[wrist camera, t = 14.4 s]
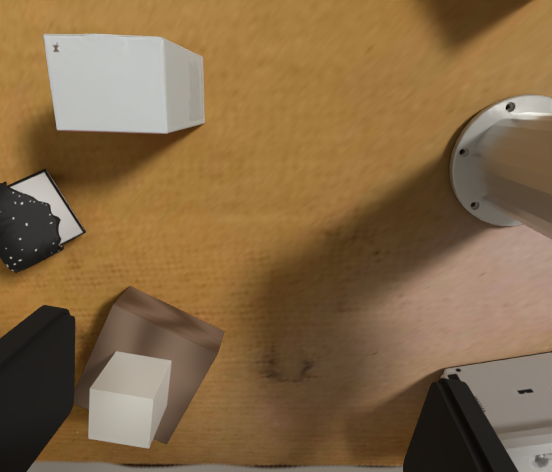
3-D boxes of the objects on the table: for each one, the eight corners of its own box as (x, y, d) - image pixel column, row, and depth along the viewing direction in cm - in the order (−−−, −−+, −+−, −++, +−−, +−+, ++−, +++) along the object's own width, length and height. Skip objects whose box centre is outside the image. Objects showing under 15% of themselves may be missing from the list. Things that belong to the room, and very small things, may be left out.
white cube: (171, 360, 44) (153, 399, 38) (166, 405, 46) (148, 448, 40) (116, 351, 44) (89, 388, 38) (113, 396, 46) (88, 438, 40)
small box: (126, 122, 41) (53, 131, 28) (120, 53, 39) (39, 31, 26) (206, 125, 41) (168, 135, 28) (205, 55, 39) (162, 33, 26)
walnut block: (225, 329, 48) (217, 354, 43) (178, 413, 52) (166, 444, 47) (131, 284, 47) (112, 304, 42) (90, 374, 51) (69, 401, 46)
